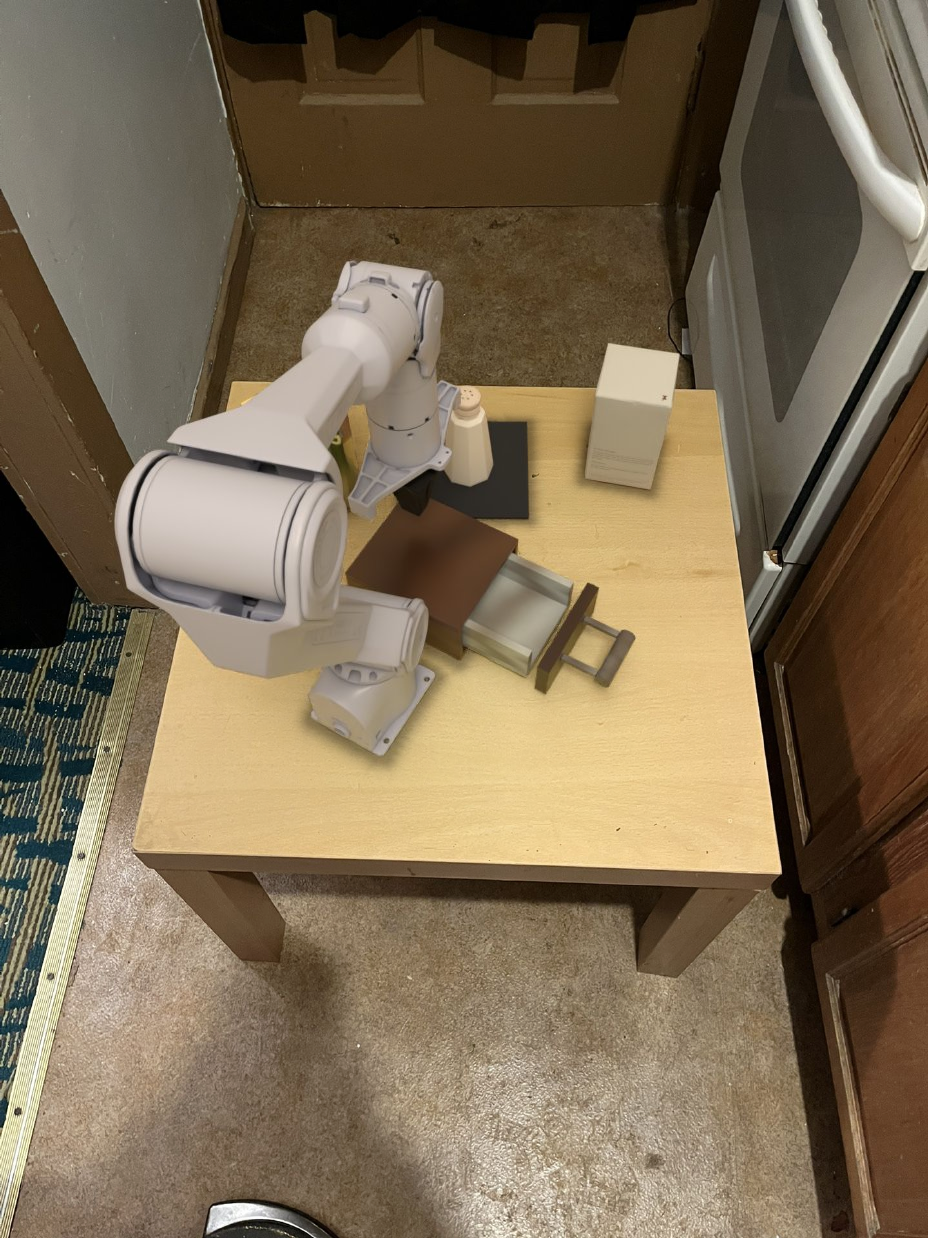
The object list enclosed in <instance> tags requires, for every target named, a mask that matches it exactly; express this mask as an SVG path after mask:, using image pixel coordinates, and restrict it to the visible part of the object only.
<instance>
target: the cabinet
mask: <svg viewBox="0 0 928 1238" xmlns="http://www.w3.org/2000/svg"><path fill="white" fill-rule="evenodd" d="M518 552H519V538H517V537H515V536H513V535H511V534H509V533H506V532H504V531H502V530H500V529H497V528H495V527H493V526H491V525H488V524H487V523H484V522H483V521H481V520H479V519H474V518H472V517H470V516H467V515H465V514H463V513H461V512H459V511H457V510H454V509H452V508H450V507H448V506H446V505H444V504H441V503H439V502H437V501H435V500H433V499H431V498H430V499H429V502H428V505H427V507H426V508H425V510H424V511H423V513H422V514H421V515H420V516H416V515H414V514H412V513H410V512H408V511H406V510H404V509H402V508H401V506H400V504H399V503H398V502H397V503H396V505H395V506H394V507H393V508H392V510H391V511H390V512H389V514H388V515H387V517H386V518H385V519H384V521H383V522H382V523H381V524H380V526H379V527H378V528H377V530H376V531H375V532H374V533H373V535H372V537H371V538H370V539H369V541H367V543H366V545H364V547H363V548H362V550H361V551H360V552H359V553H358V555H357V556H356V557H355V558H354V560H353V561H352V563H351V564H350V566H349V567H348V568H347V570H346V571H345V572H344V574H345V578H346V582H347V586H352V587H357V588H361V589H366V590H371V591H376V592H380V593H385V594H390V595H395V596H399V597H404V598H409V599H415V598H418V599H422V600H423V601H424V603H425V605H426V607H427V609H428V614H429V617H428V628H427V634H426V639H425V644H427V645H428V646H431V647H432V648H434V649H436V650H438V651H440V652H442V653H444V654H446V655H448V656H449V657H452V658H454V659H456V660H458V661H461V660H462V659H463V658H464V656H465V654H466V653H467V651H468V650H469V648H467V647H465V646H463V643H462V627H463V626H464V624H465V623H466V621H467V620H468V618H469V617H470V615H471V614H472V612H473V611H474V609H475V608H476V606H477V605H478V603H479V601H480V600H481V598H482V597H483V595H484V594H485V592H486V591H487V589H488V588H489V586H490V585H491V583H492V582H493V580H494V579H495V577H496V576H497V574H498V573H499V571H500V570H501V568H502V566H503V565H504V563H505V562H506V560H507V559H508V557H509V556H510V554H511V553H514V554H516V555H518Z"/></svg>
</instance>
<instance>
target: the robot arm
mask: <svg viewBox="0 0 928 1238" xmlns="http://www.w3.org/2000/svg"><path fill="white" fill-rule="evenodd" d="M443 314H444V287H443V284H442V282H441V281H440V280H434V279H433V275H432V273H431V272H430V271H429V270H424V269H418V268H410V267H404V266H398V265H391V264H387V263H380V262H379V263H378V262H374V261H368V260H367V261H366V260H361V261H360V262H357V261H355V260H350V261H346V262H345V264H344V265H343V268H342V271H341V273H340V275H339V280H338V283H337V287H336V289H335V290H334V291H333V292H332V297H331V306H330V307H329V308H328V309H327V310H326V311H325V312H323V314H322V315H320V316H319V318H317V319H316V320H315V321H313V323H312V324H311V325H310V326H309V327H308V329H307V330H306V332H305V334H304V337H303V338H302V343H301V354H300V355H301V360H299V362H298V363H296V364H295V365H293V366H292V367H291V368H289V369H288V370H287V371H285V372H284V373H283V374H282V375H280V376H279V377H278V378H276V379H275V380H274V381H273V382H271V383H270V384H269V385H267V386H266V387H265V388H264V389H261V391H259V392H260V393H259V392H257V393H258V394H257V393H256V394H257V395H256V394H255V395H256V396H254V395H253V396H254V397H253V398H252V399H250V400H249V401H248V402H246V403H245V404H244V405H242V406H240V405H239V406H238V407H236V408H232V409H230V410H227V411H224V412H223V411H222V412H221V413H218V414H213V415H211V416H207V417H205V418H201V419H198V420H195V421H192V422H188V423H186V424H182V425H180V426H179V427H177V428H176V429H175V430H174V431H173V432H172V434H171V435H170V436H169V437H168V439H167V440H166V443H167V444H172V445H177V446H178V447H179V448H181V450H180V452H179V454H178V453H177V452H175V451H173V450H169V449H160V448H159V449H154V450H151V451H150V452H147V453H146V454H145V455H143V456H142V457H141V458H140V459H139V460H138V462H136V464H135V465H134V466H133V467H132V469H130V471H129V472H128V474H127V475H126V477H125V479H124V481H123V482H122V485H121V487H120V490H119V492H118V496H117V500H116V504H115V510H114V534H115V536H114V537H115V540H116V544H117V547H118V551H119V556H120V562H121V566H122V571H123V574H124V580H125V585H126V589H127V590H129V591H130V592H132V593H133V594H135V595H137V596H139V597H141V598H142V599H144V600H146V601H148V602H149V603H150V604H153V605H154V606H155V607H158V608H159V609H161V610H163V611H165V612H166V613H167V614H169V616H170V617H171V618H172V619H173V620H174V621H175V623H176V624H177V625H178V626H179V627H180V628H181V629H182V631H183V632H184V633H185V634H186V636H187V637H188V638H189V639H190V641H191V642H192V643H193V644H194V645H195V646H196V647H197V648H198V649H199V651H200V652H201V653H202V654H203V655H204V657H205V658H206V659H207V660H208V661H209V663H210V664H211V665H212V666H213V667H215V668H218V669H222V670H227V671H230V672H234V673H239V674H243V675H248V676H252V677H257V678H262V679H265V680H273V679H276V678H281V677H286V676H290V675H294V674H299V673H303V672H304V673H305V672H309V671H313V670H318V669H320V672H319V674H318V676H317V679H316V680H315V681H314V683H313V684H312V686H311V688H310V689H309V690H308V693H307V697H308V698H307V699H308V700H309V703H310V705H311V707H312V710H311V713H310V716H311V719H312V720H313V721H315V722H317V723H319V724H321V725H322V726H324V727H325V728H327V729H329V730H331V731H333V732H335V734H338V735H339V736H341V737H343V738H345V739H348V740H349V741H351V742H353V743H354V744H356V745H358V746H359V747H361V748H363V749H365V750H367V751H369V753H370V752H371V753H372V754H374V755H376V756H377V757H383V756H385V755H386V754H387V752H388V751H389V749H390V748H391V746H392V744H393V743H394V742H395V740H396V739H397V737H398V736H399V734H400V732H401V731H402V730H403V728H404V727H405V724H406V723H407V722H408V720H409V719H410V717H411V715H413V712H414V711H415V709H417V706H418V705H419V703H420V702H421V700H422V699H423V697H424V696H425V694H426V693H427V691H428V689H430V687H431V685H432V683H433V682H434V681H435V679H436V673H435V672H434V670H431V669H429V668H428V667H426V666H424V665H422V664H420V663H419V662H420V660H421V658H422V655H423V651H424V648H425V644H426V643H425V639H426V634H427V628H428V617H429V614H428V609H427V607H426V605H425V603H424V601H423V600H422V599H418V598H415V599H409V598H404V597H399V596H395V595H390V594H385V593H380V592H376V591H371V590H366V589H361V588H357V587H352V586H348V584H347V585H346V584H342V580H343V569H344V558H345V554H346V549H347V542H348V533H349V515H348V511H347V507H346V504H345V501H344V499H343V485H342V479H341V474H340V471H339V468H338V465H337V463H336V461H335V459H334V457H333V456H332V455H331V453H330V452H329V451H328V448H329V446H330V444H331V443H332V441H333V439H334V437H335V436H336V434H337V432H338V430H339V428H340V427H341V425H342V423H343V421H344V419H345V418H346V416H347V414H348V415H349V412H350V411H351V409H352V407H354V406H355V407H356V406H363V405H364V406H365V407H364V408H365V414H366V419H367V424H368V425H367V426H368V431H369V439H368V443H367V446H366V450H365V453H364V456H363V460H362V462H361V466H360V470H359V476H358V480H357V482H356V485H355V487H354V489H353V491H352V492H351V494H350V495H349V496H348V501H349V506H350V510H349V511H350V512H351V513H353V514H355V515H357V516H359V517H360V518H363V519H365V520H367V521H369V522H371V521H373V519H374V518H375V517H376V516H377V513H378V512H377V505H378V504H379V503H380V502H381V501H383V500H384V499H385V498H386V497H388V496H390V495H392V494H393V496H394V497H395V499H396V501H397V503H399V504H400V506H401V508H402V509H404V510H406V511H408V512H410V513H412V514H414V515H416V516H420V515H421V514H422V513H423V511H424V510H425V508H426V507H427V505H428V502H429V499H430V495H431V492H432V488H433V484H434V481H435V479H436V476H437V474H438V472H439V471H442V470H443V469H445V467H446V466H447V465H448V463H449V462H450V461H451V459H452V451H451V450H450V449H449V448H447V447H446V446H445V445H444V443H445V439H446V435H447V431H448V427H449V423H450V419H451V414H452V410H456V409H457V408H458V407H459V405H460V404H461V388H459V387H460V386H457V385H455V384H452V383H450V382H447V381H445V380H444V379H440V380H439V381H438V377H437V376H438V375H437V361H438V358H439V355H440V352H441V344H442V338H441V329H442V321H443ZM427 679H428V681H426V680H427ZM386 740H388V742H385V741H386Z"/></svg>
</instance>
